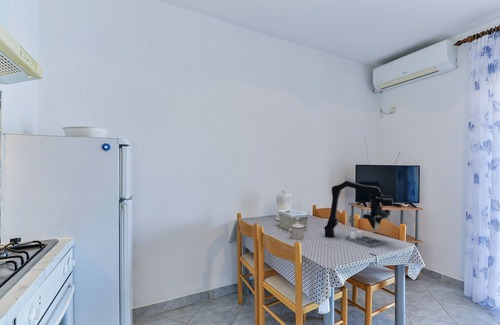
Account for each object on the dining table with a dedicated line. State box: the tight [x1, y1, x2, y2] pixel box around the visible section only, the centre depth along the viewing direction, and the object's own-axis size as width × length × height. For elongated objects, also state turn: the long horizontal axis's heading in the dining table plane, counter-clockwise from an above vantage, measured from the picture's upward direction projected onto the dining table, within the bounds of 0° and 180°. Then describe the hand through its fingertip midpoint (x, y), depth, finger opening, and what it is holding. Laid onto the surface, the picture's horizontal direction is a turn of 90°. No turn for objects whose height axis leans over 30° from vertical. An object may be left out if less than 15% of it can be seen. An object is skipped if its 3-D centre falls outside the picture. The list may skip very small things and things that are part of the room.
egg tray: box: [345, 234, 385, 249], centre depth 169 cm, size 14×20×3 cm
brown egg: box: [371, 221, 380, 232], centre depth 165 cm, size 4×4×6 cm
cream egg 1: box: [349, 231, 356, 239], centre depth 173 cm, size 4×4×6 cm
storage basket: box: [278, 208, 309, 233], centre depth 207 cm, size 24×16×15 cm
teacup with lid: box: [288, 222, 305, 240], centre depth 181 cm, size 12×9×12 cm
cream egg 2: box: [355, 230, 363, 238], centre depth 176 cm, size 4×4×6 cm
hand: (375, 228), depth 165 cm, fingers closed on brown egg, 4 cm apart
